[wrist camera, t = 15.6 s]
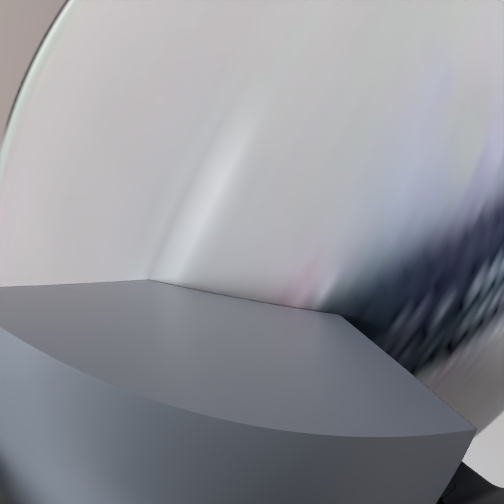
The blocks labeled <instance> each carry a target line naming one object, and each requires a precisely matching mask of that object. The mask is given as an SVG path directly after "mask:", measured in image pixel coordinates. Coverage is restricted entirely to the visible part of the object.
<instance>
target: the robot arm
mask: <svg viewBox="0 0 504 504" xmlns="http://www.w3.org/2000/svg"><path fill="white" fill-rule="evenodd" d="M436 504H504V488H500V487H497V486H495V485H493V484H491V483H489V482H488V481H487V480H486V479H484V478H483V477H482V476H480V475H479V474H478V473H476V472H475V471H474V470H472V469H471V468H470V467H468V466H467V465H466V464H465V463H463V462H462V461H461V463H460V465H459V466H458V468H457V470H456V472H455V474H454V475H453V477H452V479H451V480H450V482H449V484H448V485H447V487H446V489H445V490H444V492H443V493H442V495H441V496H440V498H439V499H438V501H437V502H436Z"/></svg>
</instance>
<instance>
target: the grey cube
mask: <svg viewBox="0 0 504 504" xmlns="http://www.w3.org/2000/svg"><path fill="white" fill-rule="evenodd" d="M476 430H477V428H475V427H474V426H473V425H472V424H471V423H469V422H468V421H467V420H466V419H465V418H464V417H462V416H461V415H460V414H459V413H458V412H456V411H455V410H454V409H453V408H452V407H450V406H449V405H448V404H447V403H446V402H444V401H443V400H442V399H441V398H440V397H438V396H437V395H436V394H435V393H434V392H432V391H431V390H430V389H429V388H428V387H426V386H425V385H424V384H423V383H422V382H420V381H419V380H418V379H417V378H416V377H414V376H413V375H412V374H411V373H410V372H408V371H407V370H406V369H405V368H404V367H402V366H401V365H400V364H399V363H397V362H396V361H395V360H394V359H393V358H391V357H390V356H389V355H388V354H387V353H385V352H384V351H383V350H382V349H381V348H379V347H378V346H377V345H376V344H374V343H373V342H372V341H371V340H370V339H368V338H367V337H366V336H365V335H364V334H362V333H361V332H360V331H359V330H357V329H356V328H355V327H354V326H353V325H351V324H350V323H349V322H348V321H346V320H345V319H344V318H343V317H342V316H340V315H337V314H331V313H324V312H317V311H311V310H304V309H298V308H292V307H286V306H280V305H274V304H268V303H262V302H257V301H251V300H246V299H240V298H235V297H230V296H224V295H219V294H214V293H209V292H204V291H199V290H194V289H189V288H185V287H180V286H175V285H170V284H166V283H161V282H157V281H152V280H132V281H116V282H98V283H80V284H60V285H38V286H14V287H0V504H436V502H437V501H438V499H439V498H440V496H441V495H442V493H443V492H444V490H445V489H446V487H447V485H448V484H449V482H450V480H451V479H452V477H453V475H454V474H455V472H456V470H457V468H458V466H459V465H460V463H461V461H462V459H463V457H464V455H465V453H466V451H467V449H468V447H469V445H470V443H471V441H472V439H473V437H474V435H475V433H476Z"/></svg>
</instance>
